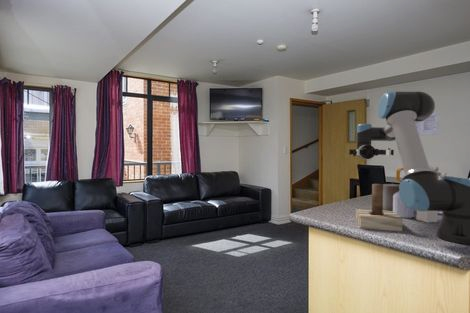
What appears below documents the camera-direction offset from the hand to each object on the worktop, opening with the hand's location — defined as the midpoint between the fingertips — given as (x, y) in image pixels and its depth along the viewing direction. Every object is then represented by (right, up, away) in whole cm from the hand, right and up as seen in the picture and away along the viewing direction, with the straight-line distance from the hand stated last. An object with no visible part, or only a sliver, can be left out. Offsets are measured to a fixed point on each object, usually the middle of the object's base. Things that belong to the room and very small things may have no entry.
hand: (374, 152), depth 143 cm
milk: (+25, -32, 0) cm, 41 cm away
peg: (-3, -32, -8) cm, 33 cm away
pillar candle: (+22, -32, +27) cm, 47 cm away
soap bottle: (+19, -32, +10) cm, 38 cm away
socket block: (-3, -32, -8) cm, 33 cm away
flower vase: (+37, -32, +20) cm, 53 cm away
